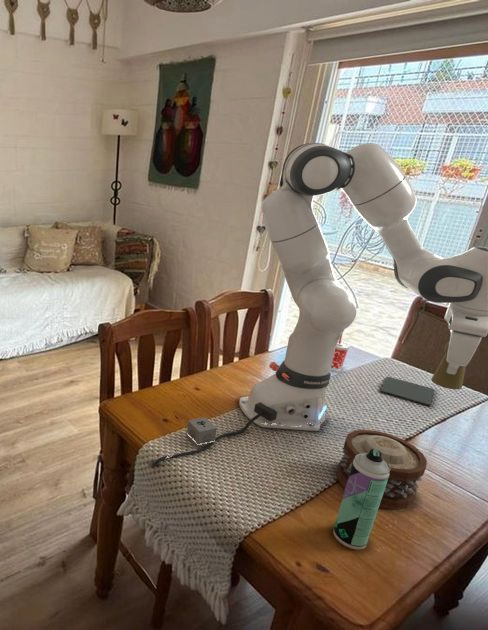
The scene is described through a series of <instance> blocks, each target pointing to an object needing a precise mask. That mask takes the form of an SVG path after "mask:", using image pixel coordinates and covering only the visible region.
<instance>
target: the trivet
mask: <svg viewBox="0 0 488 630" xmlns="http://www.w3.org/2000/svg"><path fill="white" fill-rule="evenodd" d="M434 391H435V389H434V388H432V387H429V386H425V385H422V384H417V383H414V382H409V381H406V380H402V379H400V378H395V377H392V376H386V377H385V380H384V382H383V385H382V388H381V389H380V393H381V394H385V395H389V396H392V397H396V398H400V399H402V400H406V401H410V402H413V403H416V404H420V405H424V406H426V407H431V404H432V400H433V395H434Z"/></svg>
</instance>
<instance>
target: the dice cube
mask: <svg viewBox="0 0 488 630" xmlns="http://www.w3.org/2000/svg"><path fill="white" fill-rule="evenodd" d="M217 432H218V428H217V427H216V425H214V424H213V422H211V421H210V420H209V419H208V418H207V417H206V416H203V417H199V418H193V419H188V420H187V428H186V436H185V437H186V439H188V441H189V442H190V443H191V444H192V445H193V446H194V447H195V448H196V450H198V449H201V448H203V447H205V446H207V445H208V444H209V443H207V444H202V445H197V444H200V443H205V442H210V441H214V440H215V438H216V437H217ZM187 433H188V434H189V435H190V436H191V437H192V438H194V440H195V441H196V442H197V444H196V443H195V442H194V441H193V440H192V439H191V438H190V437H189V436H188V435H187ZM211 443H214V444H213V445H212V446H214V445H216V442H211Z"/></svg>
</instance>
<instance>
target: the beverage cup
mask: <svg viewBox="0 0 488 630" xmlns="http://www.w3.org/2000/svg"><path fill="white" fill-rule="evenodd" d="M343 334H344V332H343V333H342V335H341V337H340V339H339V341H338V343H337V346H336V348H335V352H334V356H333V360H332V364H331V368H330V370H331V372H341V371H342V368H343V365H344V362H345V361H346V360H345V359H346V358H347V357H346V356H347V354H348V351H349V350H350V347H351V345H350V344H349V343H347V342H344V341H342V338H343Z"/></svg>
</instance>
